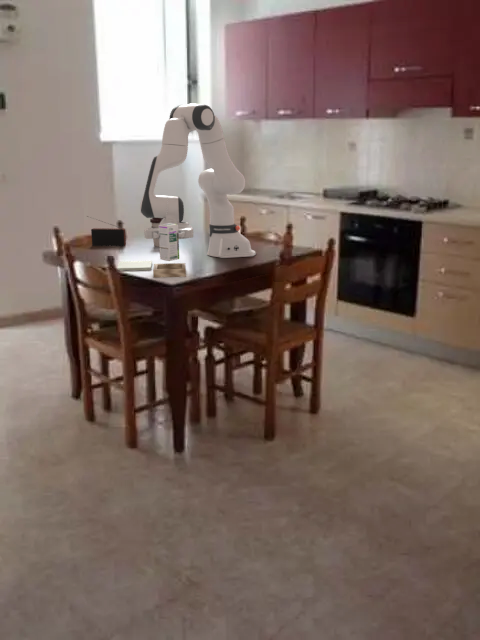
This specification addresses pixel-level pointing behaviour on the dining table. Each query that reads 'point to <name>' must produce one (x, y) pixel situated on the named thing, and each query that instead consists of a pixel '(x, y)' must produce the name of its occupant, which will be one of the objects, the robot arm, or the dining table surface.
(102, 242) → the radio
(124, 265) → the sage mat
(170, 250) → the syrup box
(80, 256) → the dining table surface
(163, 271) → the birch holder
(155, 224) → the coffee cup
